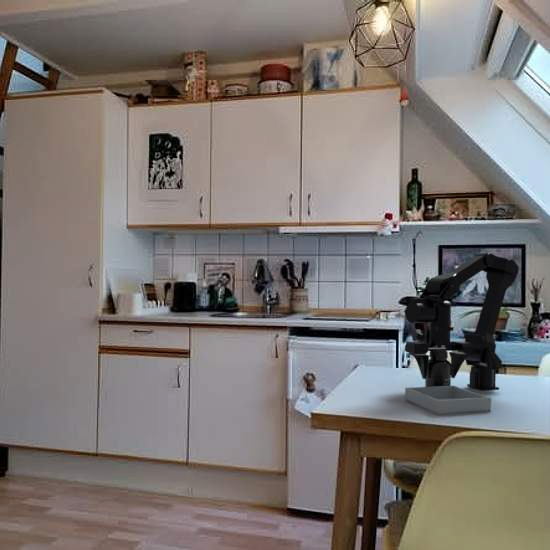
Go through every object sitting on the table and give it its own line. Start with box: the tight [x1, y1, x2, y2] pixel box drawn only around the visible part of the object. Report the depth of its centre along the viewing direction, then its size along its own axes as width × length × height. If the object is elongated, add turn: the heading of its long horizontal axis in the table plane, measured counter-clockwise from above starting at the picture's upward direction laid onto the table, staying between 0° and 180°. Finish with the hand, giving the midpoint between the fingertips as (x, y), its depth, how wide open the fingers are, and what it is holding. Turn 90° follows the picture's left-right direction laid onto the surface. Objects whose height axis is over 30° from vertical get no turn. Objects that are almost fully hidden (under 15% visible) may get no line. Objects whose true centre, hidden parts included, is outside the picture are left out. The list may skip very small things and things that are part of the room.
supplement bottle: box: [424, 351, 452, 387], centre depth 146 cm, size 7×7×12 cm
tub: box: [404, 385, 492, 416], centre depth 130 cm, size 15×15×4 cm
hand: (438, 378), depth 145 cm, fingers open, 9 cm apart
